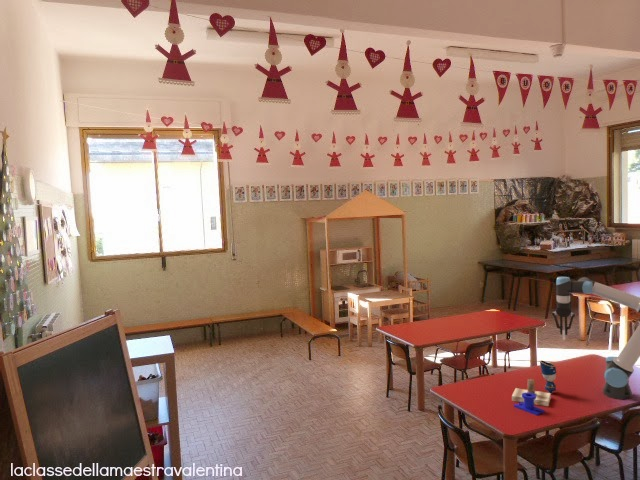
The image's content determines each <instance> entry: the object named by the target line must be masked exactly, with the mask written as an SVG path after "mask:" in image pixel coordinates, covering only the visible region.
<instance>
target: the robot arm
mask: <svg viewBox="0 0 640 480" xmlns="http://www.w3.org/2000/svg"><path fill="white" fill-rule="evenodd" d="M555 283H556V284H555V285H556V287H555V288H556V289H555V290H556V297H555V298H556V309H555V311H552V313H551V314H552V316H553V317H554V322H555V325H556V328H557V329H559V330H560V335H562V337H561V338H562V339H561V340H562V341H566V336H567V335H568V330H571V327H572V324H573V319H574V318H575V316H576V313H574V312H572V309H571V303H570V302H571V294H585V295H587V294H589V295H590V294H592V295H595V296H598V297H600V298H604V299H606V300H609V301H612V302H613V303H618V304H620V305H622V306H625V307H628V308H630V309H633V310H635V311H636V312H637V313H640V296H637V295H634V294H631V293H628V292H626V291H623V290H620V289H617V288H614V287H611V286H608V285H606V284H602V283H599V282H597V281H594V280H592V279H590V278H588V277H587V276H586V277H585V276H584V277H580V278H579V279H578V280H571V278H570V277H569V276H557V278H556V281H555ZM557 315H558V316H559V320H558V316H557ZM569 316H570V319H569V320H570V321H569V324H568V317H569ZM563 321H564V324H563ZM637 322H638V326H637V327H636V329H635V331H634V332H633V333H632V335H631V336H630V338H629V339H628V341H627V343H626V344H625V346H624V347H623V349H622V350H621V352H620V353H619V354H618V356H607V357H606V358H605V370H604V374H603V376H604V380H605V383H604V385H603V388H602V393H603V395H604V396H606V397H609V398H613V399H615V400H616V399H617V400H629V399H630V400H631V399H632V398H633V391H632V389H631V386H630V383H629V382H630V381H629V379H630V377H631V376H632V374H633V373H634V371H635V370H634V366H635V365H636V362H637V361H638V360H639V358H640V317H639V318H638V321H637ZM563 325H564V327H563Z"/></svg>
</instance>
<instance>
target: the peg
mask: <svg viewBox="0 0 640 480" xmlns="http://www.w3.org/2000/svg"><path fill="white" fill-rule="evenodd" d="M526 381H527V390H528V393H533V394H535V391H536V384H535V383H536V381H535V379H534V378H527V380H526Z"/></svg>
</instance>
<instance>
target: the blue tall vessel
mask: <svg viewBox="0 0 640 480" xmlns="http://www.w3.org/2000/svg"><path fill="white" fill-rule="evenodd" d="M539 364H540V369H541V374H542V377H543V378H544V380H546V383H545V385H544V390H545V391H546V392H548V393H551V394H554V392H556V391H557V385H556V384H555V382H554V381H555V380H556V379H557V369H556V365H555V364H554V363H551V362H547V361H544V360H539Z"/></svg>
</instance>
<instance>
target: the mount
mask: <svg viewBox="0 0 640 480" xmlns="http://www.w3.org/2000/svg"><path fill="white" fill-rule="evenodd" d="M522 397H523V398H524V403H523V402H518V403H515V404H513V407H514V408H517V409H518V410H521V411H523V412H526V413H529V414H531V415H534V416H539V415H541V414H544V413H546V410H545V409H542V408H539V407H537V406H535V404H534V399H536V395H535V394H533V393H522Z"/></svg>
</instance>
